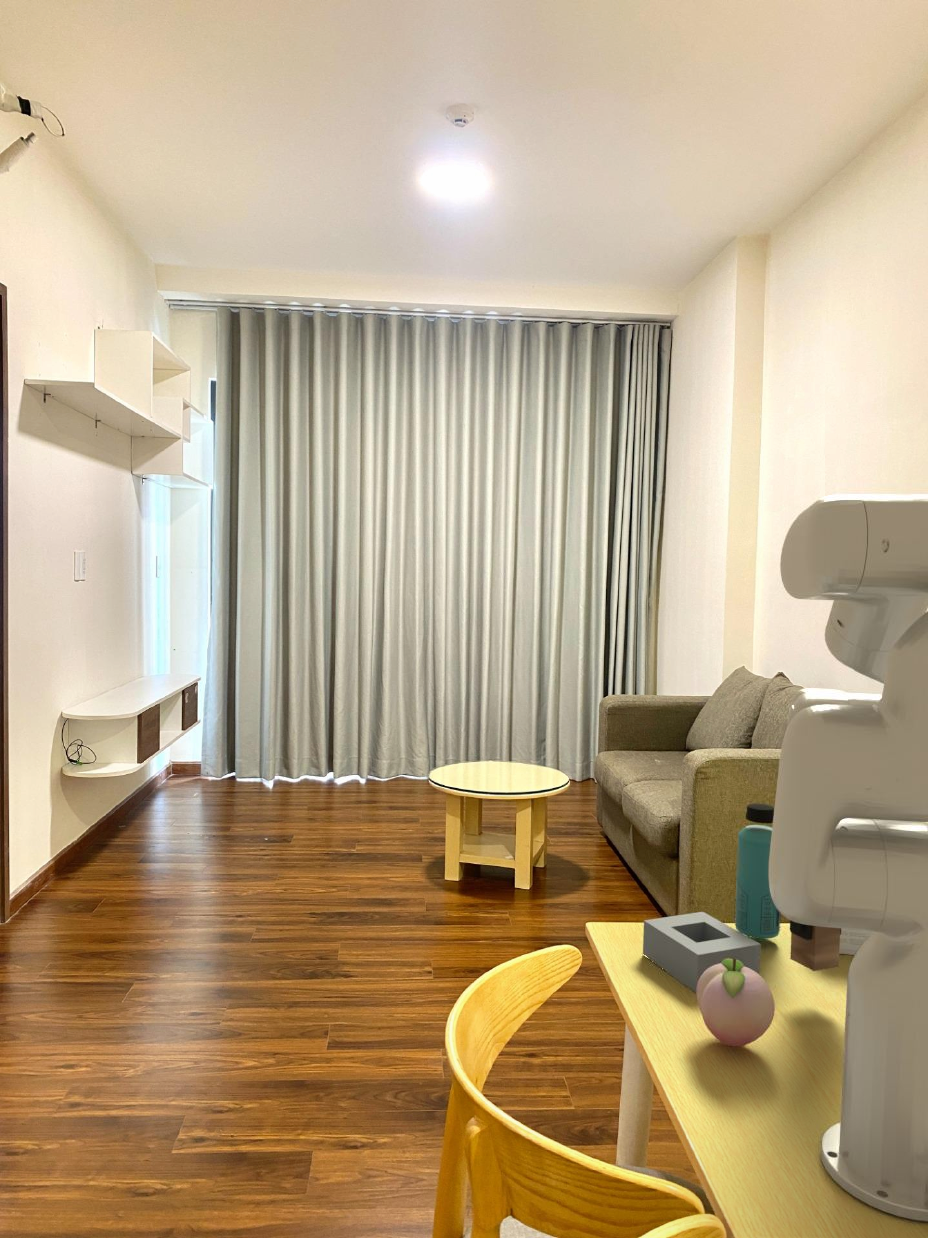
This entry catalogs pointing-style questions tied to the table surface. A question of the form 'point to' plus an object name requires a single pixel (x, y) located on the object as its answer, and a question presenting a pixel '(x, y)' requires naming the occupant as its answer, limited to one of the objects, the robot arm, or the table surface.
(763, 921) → the beverage bottle
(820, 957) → the walnut peg
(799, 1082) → the table surface
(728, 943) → the socket block
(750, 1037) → the decorative fruit
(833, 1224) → the table surface
